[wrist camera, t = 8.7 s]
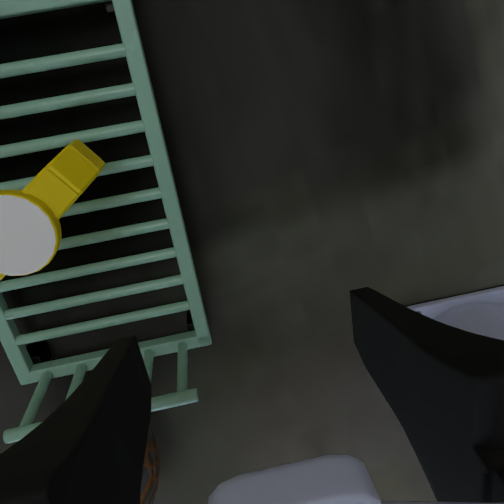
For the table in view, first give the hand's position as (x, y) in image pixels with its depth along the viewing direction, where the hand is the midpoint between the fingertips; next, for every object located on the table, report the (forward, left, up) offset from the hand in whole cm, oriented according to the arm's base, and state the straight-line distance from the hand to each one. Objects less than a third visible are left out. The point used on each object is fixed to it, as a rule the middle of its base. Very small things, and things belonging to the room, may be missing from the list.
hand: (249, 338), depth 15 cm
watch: (+7, -4, -8) cm, 11 cm away
